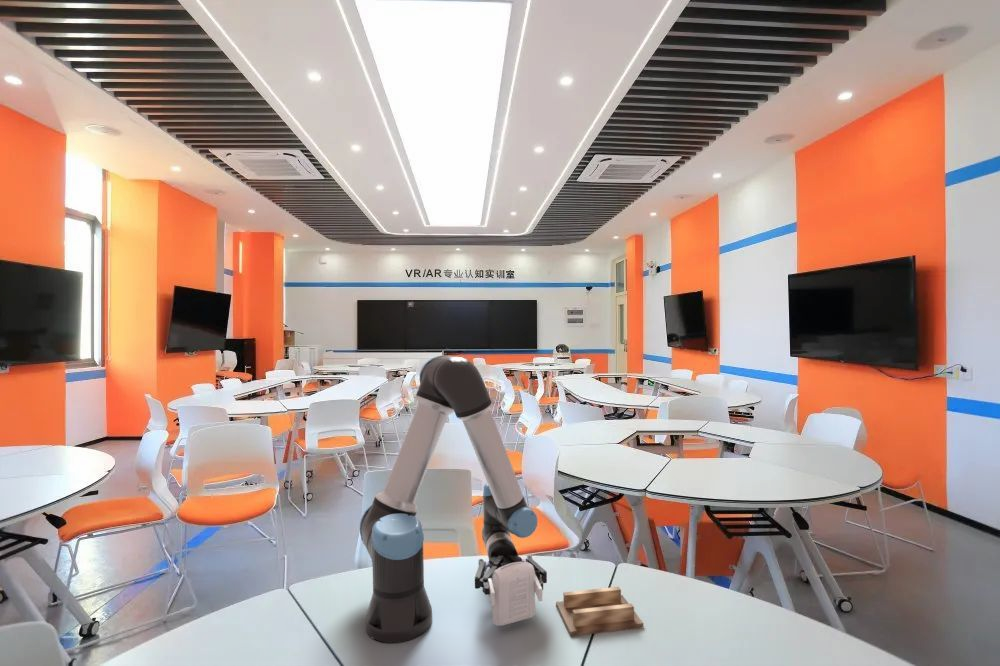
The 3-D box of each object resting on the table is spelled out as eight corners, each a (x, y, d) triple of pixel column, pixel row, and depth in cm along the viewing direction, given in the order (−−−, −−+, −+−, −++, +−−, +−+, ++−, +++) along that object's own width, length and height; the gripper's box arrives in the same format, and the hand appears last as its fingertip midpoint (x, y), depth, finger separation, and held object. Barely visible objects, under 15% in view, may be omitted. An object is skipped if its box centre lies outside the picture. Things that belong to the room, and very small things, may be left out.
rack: (570, 636, 107) (569, 617, 107) (556, 606, 119) (555, 589, 119) (643, 627, 109) (643, 609, 109) (622, 599, 121) (621, 583, 121)
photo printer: (528, 607, 115) (528, 555, 115) (538, 617, 112) (537, 563, 112) (489, 619, 111) (489, 564, 111) (497, 629, 107) (497, 572, 107)
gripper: (543, 563, 131) (566, 609, 109) (459, 570, 127) (466, 619, 105) (543, 535, 131) (566, 575, 109) (459, 541, 127) (465, 584, 105)
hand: (517, 597), depth 107 cm, fingers closed on photo printer, 10 cm apart
